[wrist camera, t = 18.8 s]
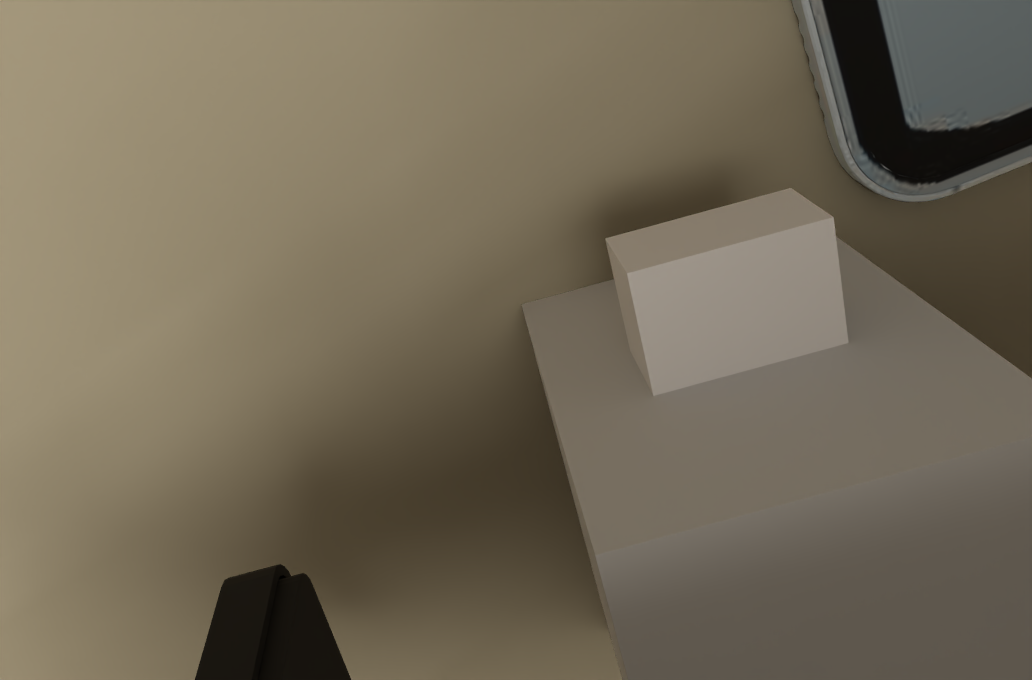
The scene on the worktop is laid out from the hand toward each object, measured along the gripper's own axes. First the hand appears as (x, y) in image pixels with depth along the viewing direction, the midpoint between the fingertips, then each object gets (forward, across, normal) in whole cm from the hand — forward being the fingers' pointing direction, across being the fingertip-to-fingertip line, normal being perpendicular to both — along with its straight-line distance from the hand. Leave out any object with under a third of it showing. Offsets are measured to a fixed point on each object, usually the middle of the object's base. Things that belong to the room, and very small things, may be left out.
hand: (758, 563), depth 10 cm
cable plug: (+3, 0, 0) cm, 3 cm away
